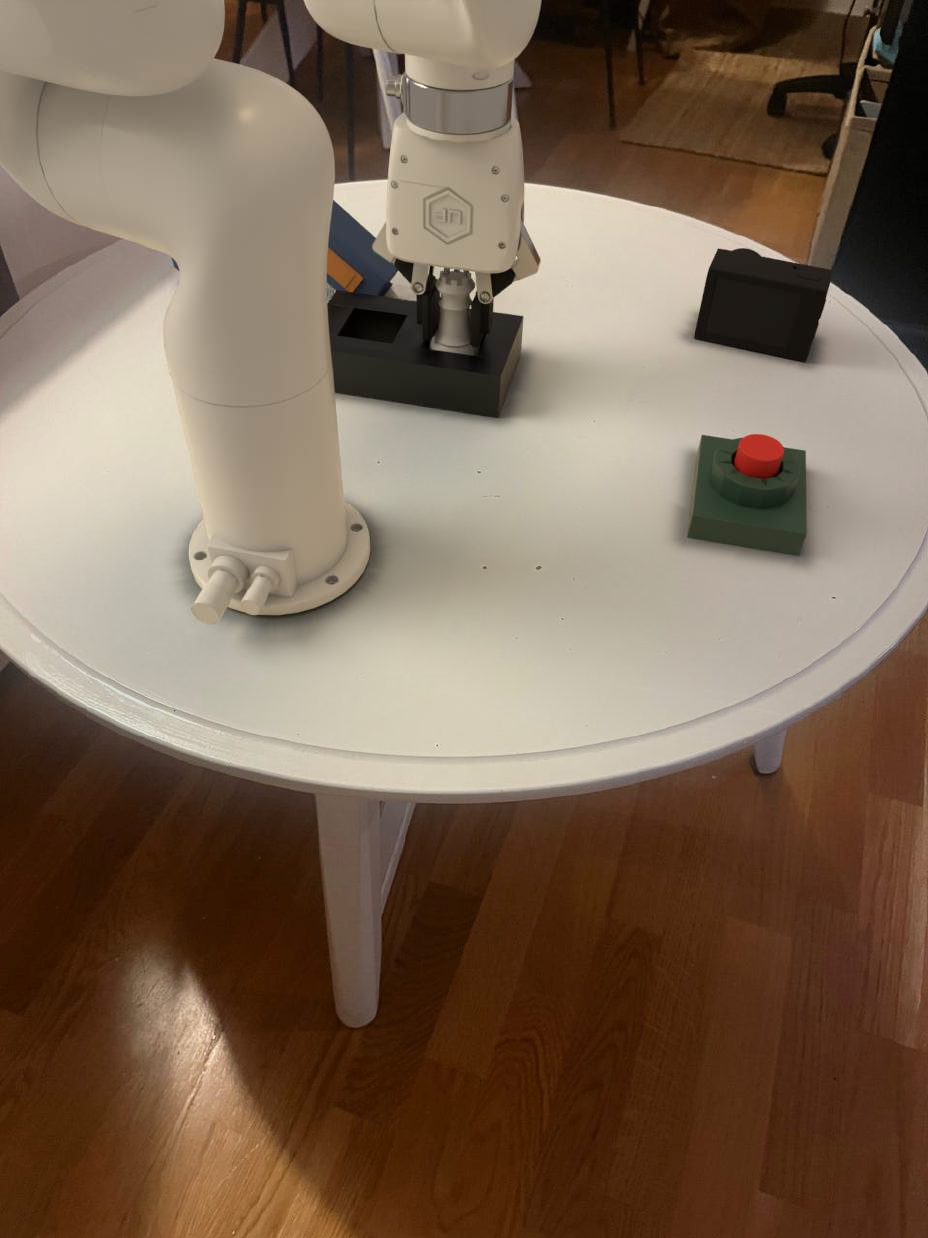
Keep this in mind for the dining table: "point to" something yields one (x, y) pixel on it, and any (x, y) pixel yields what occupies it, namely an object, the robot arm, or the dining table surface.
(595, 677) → the dining table surface
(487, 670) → the dining table surface
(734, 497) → the switch box
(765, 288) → the digital camera
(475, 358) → the holder
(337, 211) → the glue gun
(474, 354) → the rook chess piece
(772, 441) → the power button
